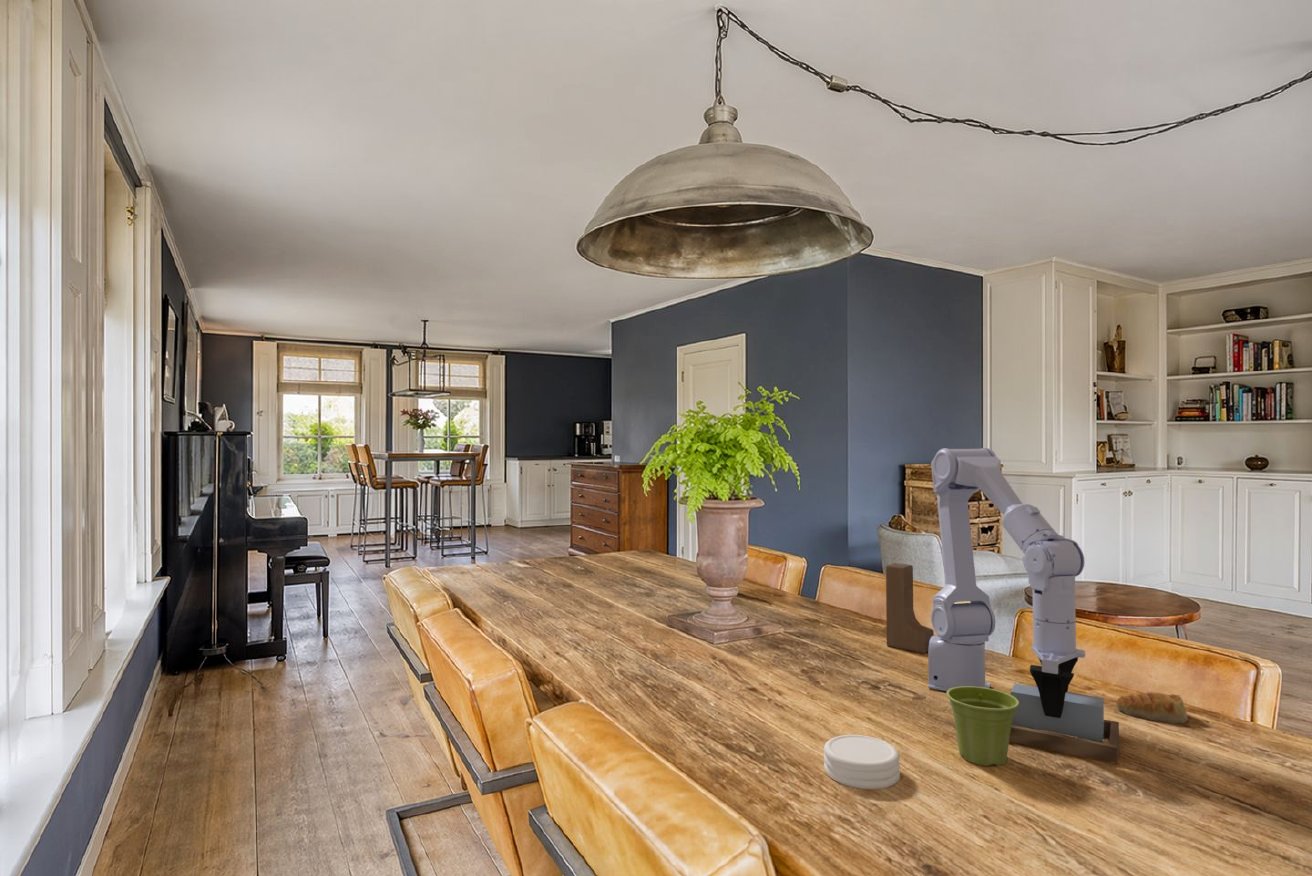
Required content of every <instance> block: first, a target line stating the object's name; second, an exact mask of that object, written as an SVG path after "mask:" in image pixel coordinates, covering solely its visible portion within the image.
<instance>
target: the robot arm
mask: <svg viewBox="0 0 1312 876" xmlns="http://www.w3.org/2000/svg"><path fill="white" fill-rule="evenodd" d="M930 464H931V465H930V467H931V475H932V476H931V477H932V484H933V487H932V488H933V493H934V494H936V501H937V502H936V503H937V512H938V521H939V522H938V523H939V532H940V542H941V553H942V563H943V573H944V584H945V585H944V586H943V588H941V589H940V590H939V591H938V592H936V594H934V595H933V597H932V610H931V614H930V622H931V625H932V629H933V631H934V632H935V633H936V635H934V636H932V637H931V639H930V642H929V650H928V653H927V654H928V655H927V657H928V667H927V668H928V671H927V672H928V683H927V688H928V689H930V690H931V689H932V690H938V691H944V692H947V690H949V689H951V688H954V687H960V686H974V687H984V688H990V687H991V685H992V684H991V682H988V681H987V682H986V645H985V643H986V642H989V637H990V636H991V635H993V634H994V631H995V628H996V616H995V615H996V614H995V613H994V611H993V609H992V606H991V602H990V601H991V600H990V596H989V595H988V593H986V592H985V591H983V590H982V589H980V587H978V586H977V579H976V578H977V577H976V569H975V568H976V567H975V559H974V558H975V557H974V552H973V551H974V550H973V542H972V541H973V539H972V531H971V530H972V529H971V522H970V521H971V519H970V511H969V500H970V499H971V497H972V496H973V494H976V493H977V492H979V491H981V493H982V494H983V495H984V496H985V497H986V498H987V499H988V500H989V501H990V502H991V503H992V505H994V506H995V508H996V509H997V510H998V511H999V512H1000V513H1001V514H1002V515H1003V517H1002V521H1001V522H1002V524H1001V525H1002V527H1003V528H1004V529H1005V530H1006V532H1007V533H1008V535H1009V536H1010V537H1011V539H1012V540H1013V541H1014V542H1015V544H1016V545H1017V546H1018V548H1019V549H1020V551H1022V553H1023V554H1024V556H1022V564H1023V567H1024V569H1025V571H1026V573H1027V576H1028V577H1027V578H1028V584H1029V587H1030V588H1031V589H1032V636H1033V637H1032V644H1031V651H1032V652H1033V654H1035V655H1036V656H1037V658H1038V660H1039V663H1040V665H1036V664H1035V665H1034V664H1031V665H1030V666H1029V673H1030V675H1031V676H1032V678H1033V681H1034V682H1035V685H1036V687H1038V690H1039V694H1040V698H1041V703H1042V708H1043V711H1044V714H1045V716H1050V717H1055V718H1061V715H1062V711H1063V707H1064V700H1065V694H1066V692H1069V691H1068V690H1069V686H1070V684H1071V682H1072V681H1073V678H1074V675H1075V673H1074V672H1073V670H1074V668H1075V666H1076V664H1077V663H1078V660H1079V658H1085V657H1086V651H1085V650H1084V649H1078V648H1077V629H1076V628H1077V627H1076V625H1077V624H1076V623H1077V622H1076V616H1077V615H1076V577H1079V575H1081V574H1082V572H1083V570H1084V568H1085V556H1084V553H1083V550H1082V548H1081V547H1080V546H1079V544H1078V542H1077V541H1076V540H1074V539H1071V538H1066V537H1064V535H1060V534H1059V533H1057V532H1056V531H1055V529H1054V528H1053V527H1052V526H1051V524H1050V523H1049V522H1048V521H1047V520H1046V518H1045V517H1044V516H1043V515H1042V514H1041V510H1040V509H1039V508H1038V507H1037V506H1034V505H1032V504H1028V503H1023V502H1022V501H1021V499H1020V498H1019V497H1018V495H1017V494H1016V492H1015V490H1014V489H1013V488H1012V486H1011V485H1010V483H1009V482H1008V481H1007V479H1006V477H1005V476H1004V474H1003V473H1002V472H1001V470H1002V468H1001V467H1002V466H1001V465H1002V464H1001V459H999V457H997V455H996V454H995V452H994V451H993V450H992V449H990V448H988V447H981V448H948V447H947V448H945V447H944V448H941V449H939V450H938V451H937V452H936V454H935V456H933V459H932V461H931V462H930ZM959 602H961V603H959ZM990 689H991V688H990Z"/></svg>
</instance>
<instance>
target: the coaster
mask: <svg viewBox="0 0 1312 876" xmlns="http://www.w3.org/2000/svg"><path fill="white" fill-rule="evenodd" d="M823 752H824V755H823V761H824V763H823V768H824V771H825V773H826V774H827V775H828V777H830V778H831V779H833V780H834V781H835V782H837V783H839V784H842V785H844V786H848V787H851V788H856V789H861V790H881V789H887V788H890V787H891V786H894V785H895V784H897V782H898V781H899V779H900V776H901V773H900V768H901V765H900V758H901V757H900V752H899V751H898V750H897V748H896V747H894V746H893V745H892V744H890V743H889V742H887V741H884V740H882V739H880V738H876V737H873V736H869V735H868V736H867V735H860V734H844V735H842V734H841V735H838V736H834V737H833V738H830V739H828V740H827V741H826V742H825V744H824V746H823Z"/></svg>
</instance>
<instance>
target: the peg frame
mask: <svg viewBox="0 0 1312 876" xmlns="http://www.w3.org/2000/svg"><path fill="white" fill-rule="evenodd" d="M1119 724H1120V722H1119V721H1114V720H1109V719H1104V736H1103V737H1107V738H1109V739H1108V743H1106V742H1101V741H1096V740H1090V739H1085V738H1080V737H1075V736H1070V735H1065V734H1060V733H1055V732H1049V731H1044V730H1039V729H1034V728H1029V727H1024V726H1019V725H1014V724H1012V725H1011V731H1010V738H1009V743H1010V742H1011V743H1015V744H1016V743H1017V744H1019V745H1020V744H1021V745H1023V746H1024V745H1025V746H1030V747H1034V748H1038V749H1039V748H1040V749H1044V750H1050V751H1053V752H1058V753H1064V754H1068V755H1073V756H1077V757H1084V758H1086V759H1087V758H1088V759H1091V760H1098V761H1102V762H1107V763H1112V764H1117V765H1118V764H1119V763H1118V762H1119V760H1118V759H1119V745H1120V744H1119V743H1120V725H1119Z"/></svg>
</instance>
